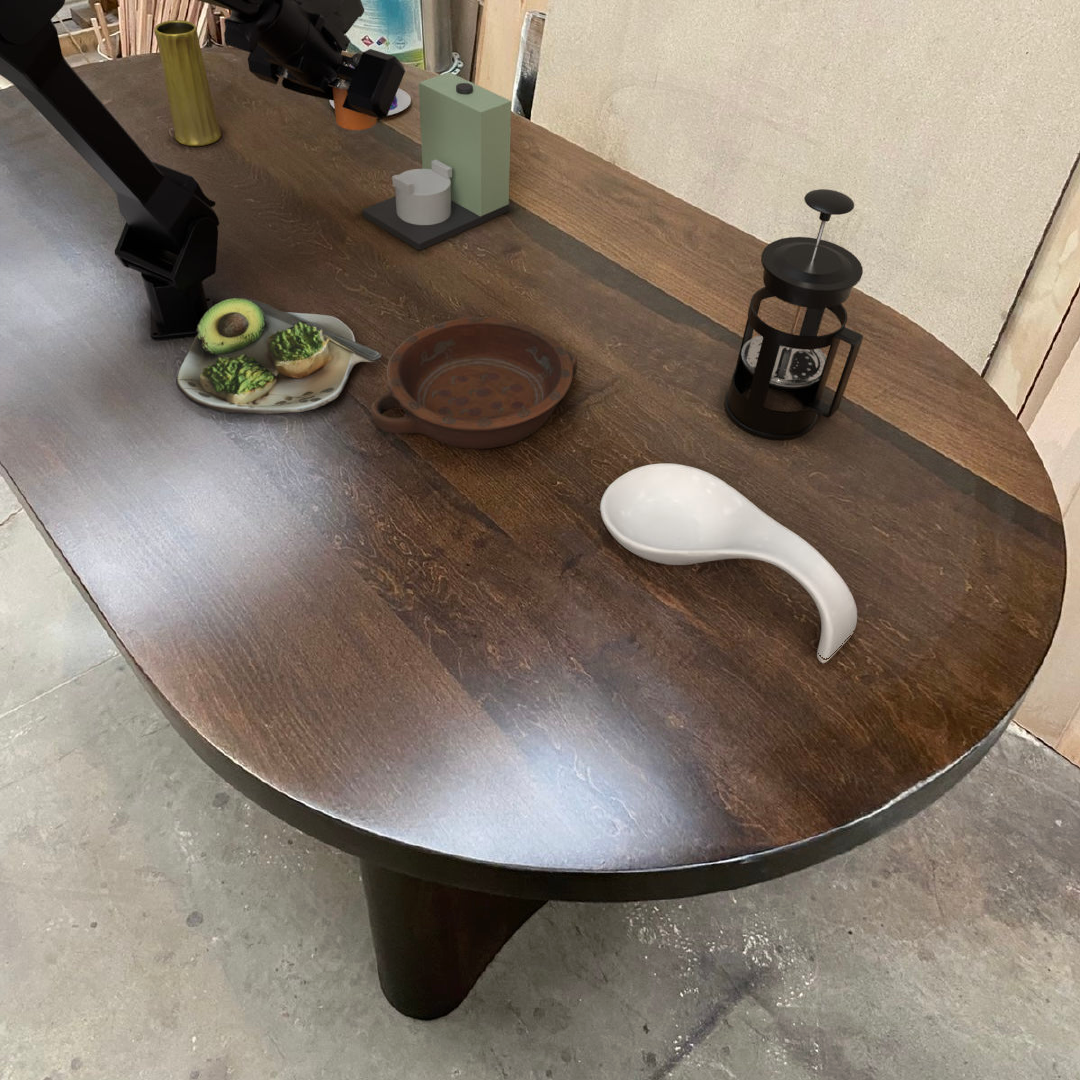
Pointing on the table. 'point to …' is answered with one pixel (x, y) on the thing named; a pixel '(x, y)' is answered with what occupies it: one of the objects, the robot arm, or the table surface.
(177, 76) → the vase
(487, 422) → the dish
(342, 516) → the table surface
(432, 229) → the coffee maker
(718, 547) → the spoon rest
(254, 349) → the avocado toast plate
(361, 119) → the coffee pod
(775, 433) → the french press
